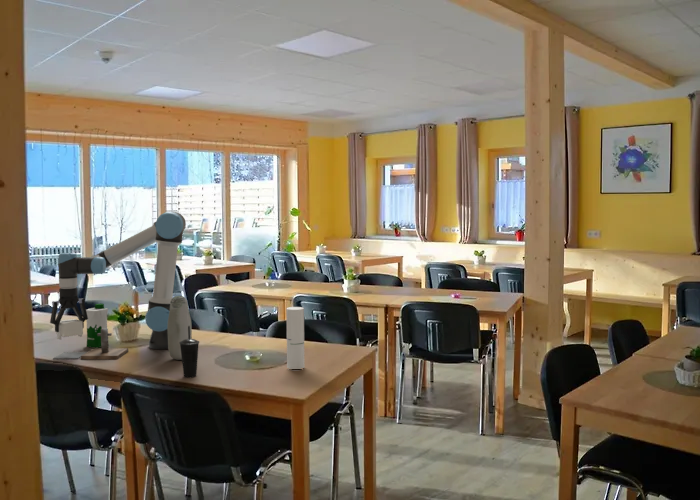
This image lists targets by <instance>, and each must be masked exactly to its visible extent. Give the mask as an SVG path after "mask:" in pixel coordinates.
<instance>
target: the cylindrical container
mask: <svg viewBox="0 0 700 500" xmlns="http://www.w3.org/2000/svg"><path fill="white" fill-rule="evenodd" d="M285 314H286V368H289V369H301V368H304V369H305V308H304V307H303V306H302V307H301V306H289V307H286V313H285ZM289 369H288V370H289Z"/></svg>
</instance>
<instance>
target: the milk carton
mask: <svg viewBox="0 0 700 500" xmlns="http://www.w3.org/2000/svg"><path fill="white" fill-rule="evenodd" d="M86 312H87V316H88V319H87V320H85V322H86V348H92V349H100V348H101V336H97V334H98V333H101V329H104V328H107V329H108V314H109V308H107V307H105V304H104V303H96V304H94V307H91V308H88V309H86ZM108 345H109V343H108Z"/></svg>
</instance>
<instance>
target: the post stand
mask: <svg viewBox="0 0 700 500" xmlns="http://www.w3.org/2000/svg"><path fill="white" fill-rule="evenodd" d="M112 335H113V333H112V332H110V333H109V328H108V327H107V328H104V329H101V333H98V334H97V336H101V347H100V348H91V350H89V351H86V352H87V353H85V354H83V355H82V356H81V358H80V360H119V358H121V357H123V356H124V355H125V354H127V353H128V352H129V348H126V347H124V348H123V347H122V348H109V347H110V346H109V345H108V344H109V337H111V336H112Z"/></svg>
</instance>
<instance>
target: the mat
mask: <svg viewBox="0 0 700 500" xmlns="http://www.w3.org/2000/svg"><path fill="white" fill-rule="evenodd" d="M87 352H88V351H63V352H62V353H60V354H58V355H56V356H54V357H53V358H52V359H53V360H79V359H81V356H82V355H83V354H85V353H87Z"/></svg>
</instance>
